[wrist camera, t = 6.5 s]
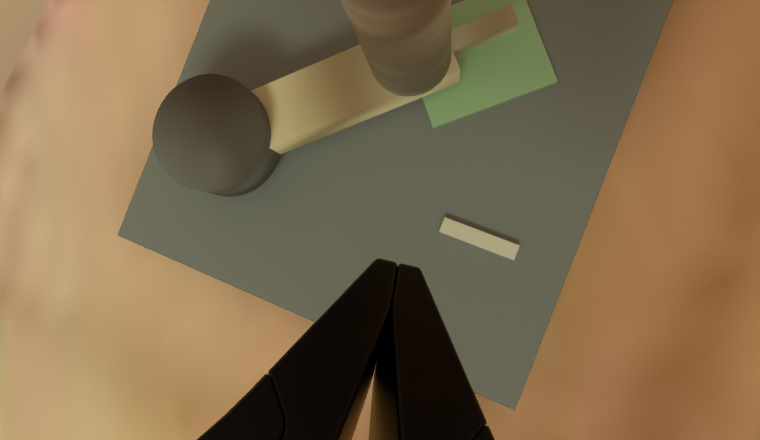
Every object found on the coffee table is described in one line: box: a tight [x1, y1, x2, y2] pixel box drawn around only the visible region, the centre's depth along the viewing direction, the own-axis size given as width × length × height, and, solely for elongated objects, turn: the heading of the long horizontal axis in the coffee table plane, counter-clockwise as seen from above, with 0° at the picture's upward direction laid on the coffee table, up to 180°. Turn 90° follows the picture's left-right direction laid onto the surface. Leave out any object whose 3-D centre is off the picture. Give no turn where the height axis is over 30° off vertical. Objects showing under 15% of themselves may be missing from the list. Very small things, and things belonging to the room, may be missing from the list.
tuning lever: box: [152, 0, 519, 197], centre depth 13 cm, size 14×4×10 cm, turn 110°
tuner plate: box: [118, 0, 673, 410], centre depth 19 cm, size 18×18×1 cm
